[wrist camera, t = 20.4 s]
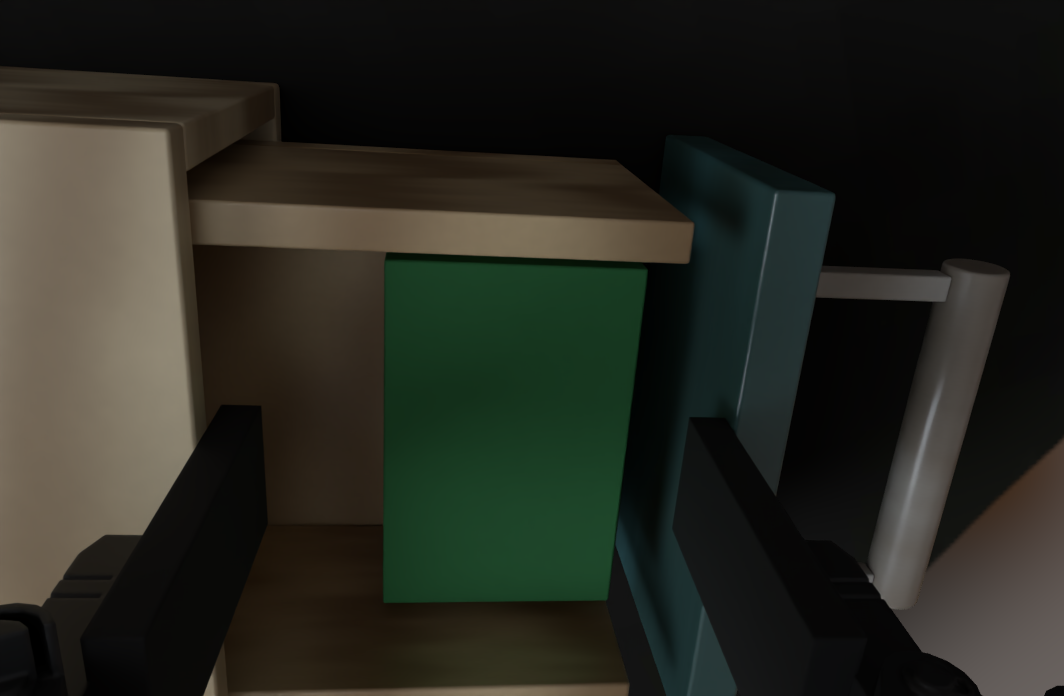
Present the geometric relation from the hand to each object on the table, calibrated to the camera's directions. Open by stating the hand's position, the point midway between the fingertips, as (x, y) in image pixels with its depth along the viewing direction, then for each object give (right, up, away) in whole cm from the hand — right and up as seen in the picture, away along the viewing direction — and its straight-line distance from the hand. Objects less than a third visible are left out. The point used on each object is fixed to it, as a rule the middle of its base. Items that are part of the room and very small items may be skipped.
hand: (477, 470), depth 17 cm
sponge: (0, +2, +6) cm, 6 cm away
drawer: (+1, +2, +7) cm, 7 cm away
